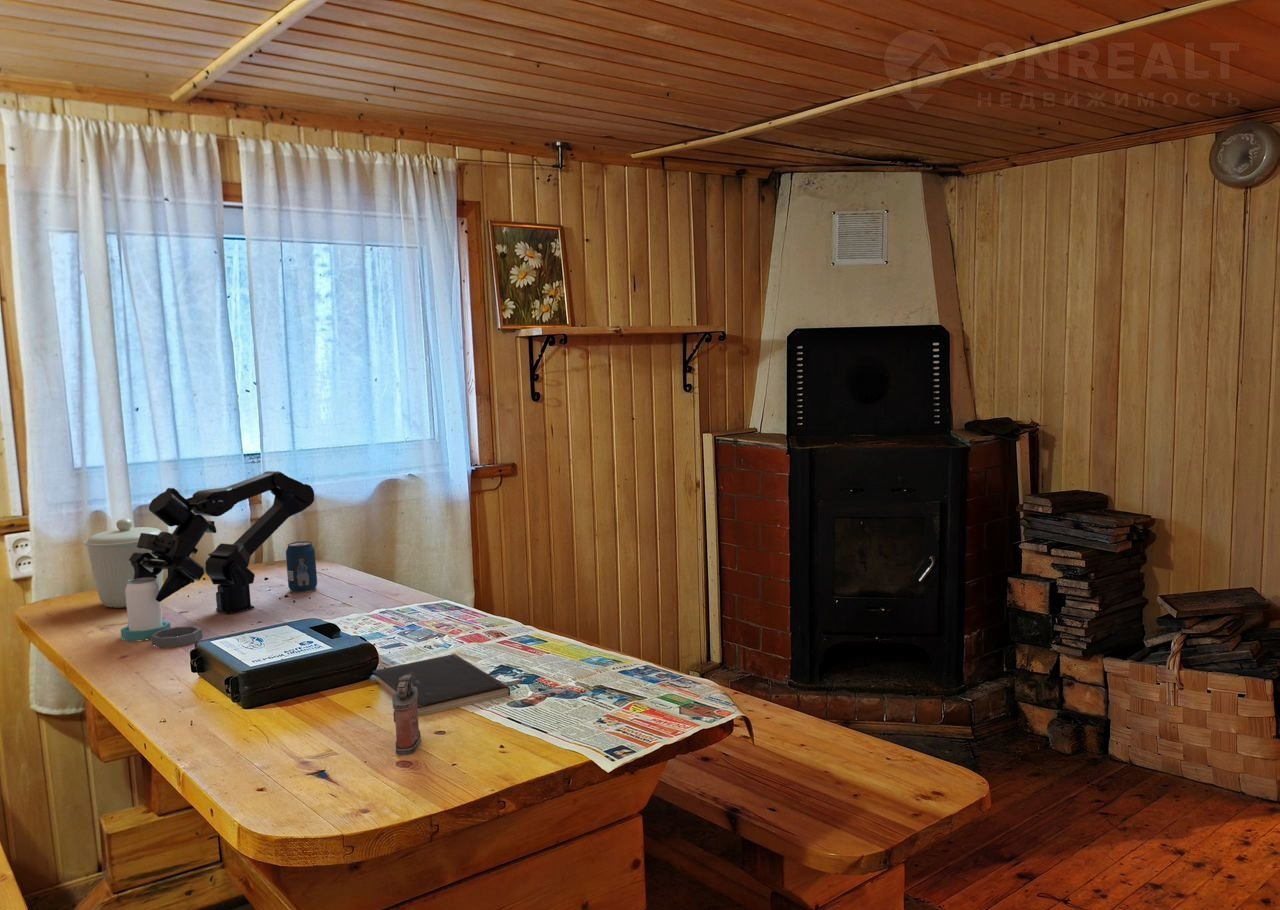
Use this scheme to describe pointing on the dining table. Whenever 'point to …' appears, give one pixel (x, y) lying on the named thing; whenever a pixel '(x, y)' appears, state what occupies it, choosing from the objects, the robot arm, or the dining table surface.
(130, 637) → the socket
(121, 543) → the canister
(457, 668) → the hardcover book
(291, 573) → the soda can
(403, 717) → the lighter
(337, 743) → the dining table surface
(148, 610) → the can
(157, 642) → the socket
